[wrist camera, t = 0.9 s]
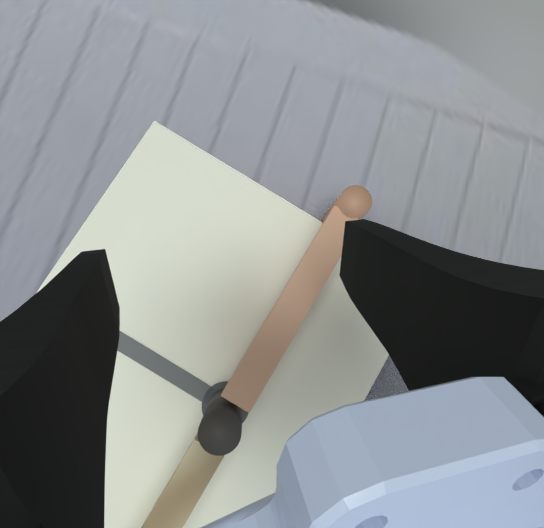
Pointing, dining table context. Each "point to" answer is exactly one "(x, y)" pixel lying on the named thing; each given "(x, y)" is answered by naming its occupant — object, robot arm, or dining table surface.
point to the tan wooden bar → (295, 300)
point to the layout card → (209, 325)
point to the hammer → (198, 463)
